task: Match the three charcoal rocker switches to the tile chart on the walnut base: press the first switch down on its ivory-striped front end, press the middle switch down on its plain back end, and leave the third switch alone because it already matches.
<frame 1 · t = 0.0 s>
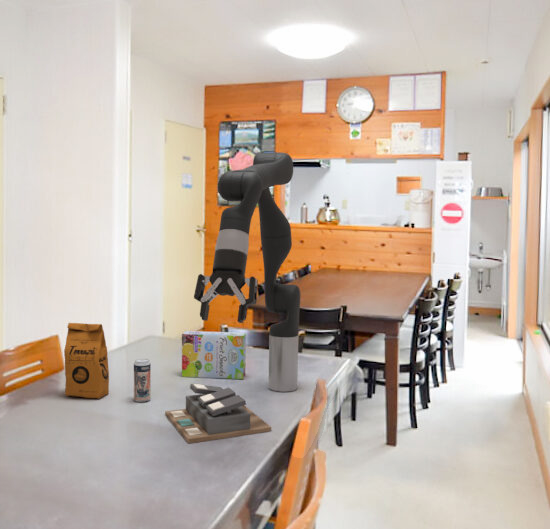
hand: (222, 321, 136), 31 cm above the table, tool tilted 20°, fingers open, 8 cm apart
switch panel: (216, 422, 161), on the table
rocker 1: (208, 391, 166), point 7 cm above the table, hinge at -12.0°
snack box: (213, 377, 205), on the table
rocker 3: (226, 406, 154), point 7 cm above the table, hinge at 12.0°
beer can: (142, 401, 178), on the table
rocker 2: (216, 398, 160), point 7 cm above the table, hinge at 12.0°
coffee package: (87, 395, 182), on the table
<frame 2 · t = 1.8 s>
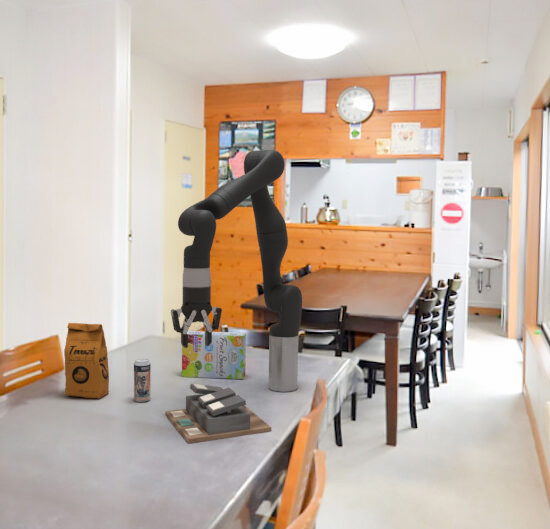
hand: (196, 346, 164), 19 cm above the table, tool pointing down, fingers open, 5 cm apart
nothing on the table moved.
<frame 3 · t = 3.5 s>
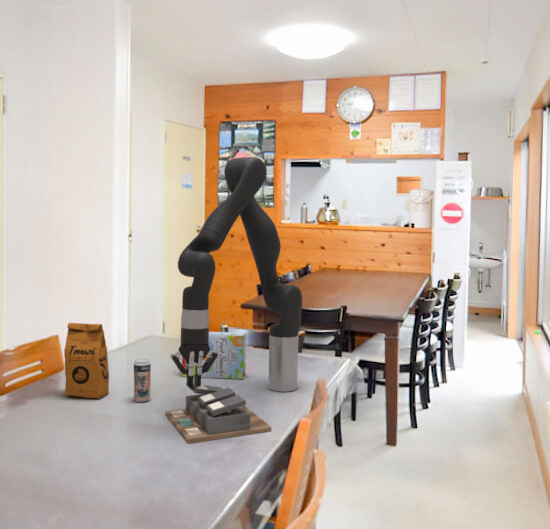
hand: (193, 388, 164), 8 cm above the table, tool pointing down, fingers closed
rocker 1: (208, 391, 166), point 7 cm above the table, hinge at -11.5°, touching gripper
everything else where it was.
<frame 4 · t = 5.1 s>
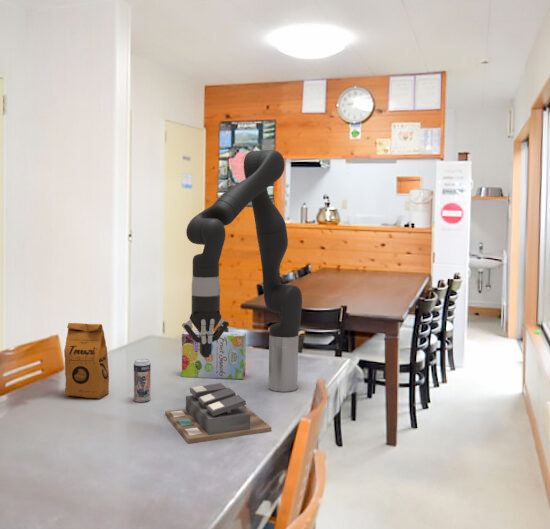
hand: (205, 356, 163), 17 cm above the table, tool pointing down, fingers closed
rocker 1: (208, 391, 166), point 7 cm above the table, hinge at 3.3°
everything else where it was.
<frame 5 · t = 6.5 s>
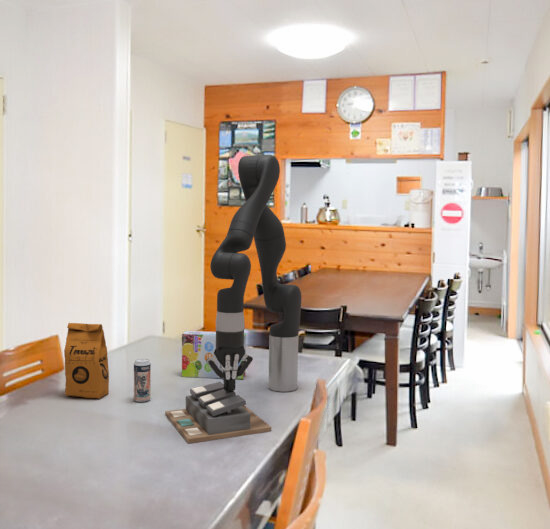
hand: (229, 392, 161), 8 cm above the table, tool pointing down, fingers closed
rocker 1: (208, 391, 166), point 7 cm above the table, hinge at 7.9°
rocker 2: (216, 398, 160), point 7 cm above the table, hinge at 12.0°, touching gripper
everything else where it was.
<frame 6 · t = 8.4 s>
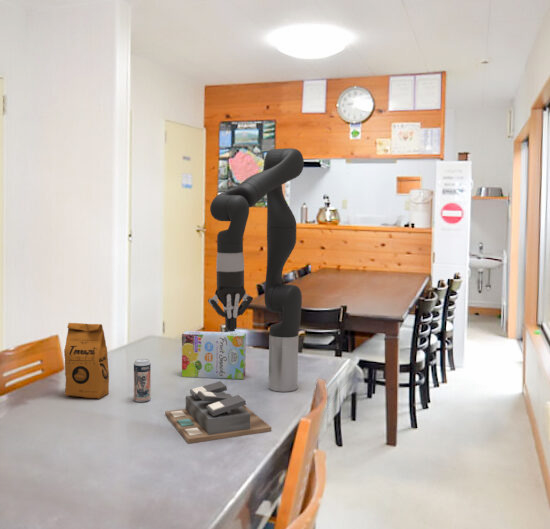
hand: (230, 330, 167), 23 cm above the table, tool pointing down, fingers closed
rocker 1: (208, 391, 166), point 7 cm above the table, hinge at 9.6°
rocker 2: (216, 398, 160), point 7 cm above the table, hinge at -11.5°
everything else where it was.
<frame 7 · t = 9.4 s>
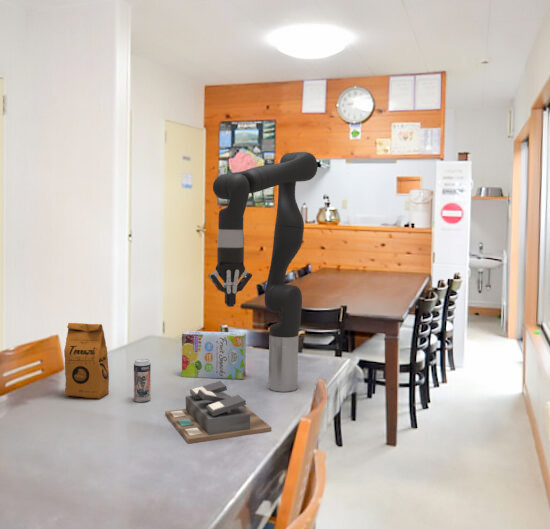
hand: (230, 306, 172), 29 cm above the table, tool pointing down, fingers closed
rocker 2: (216, 398, 160), point 7 cm above the table, hinge at -16.4°
everything else where it was.
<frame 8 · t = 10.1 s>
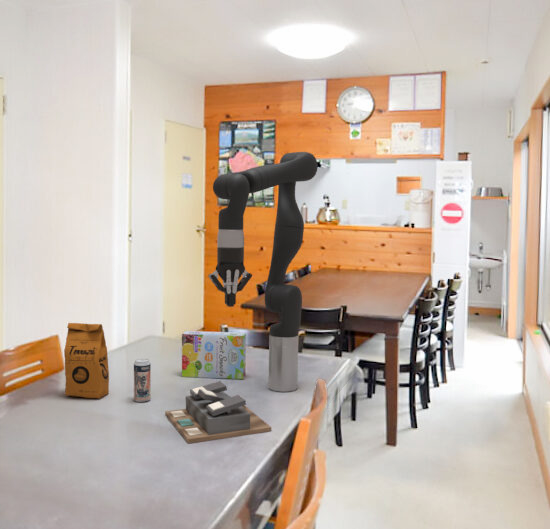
hand: (230, 306, 172), 29 cm above the table, tool pointing down, fingers closed
rocker 2: (216, 398, 160), point 7 cm above the table, hinge at -18.0°, touching switch panel
everything else where it was.
at the end: rocker 1 at +10° (first picture: -12°); rocker 2 at -18° (first picture: +12°); rocker 3 at +12° (first picture: +12°) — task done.
